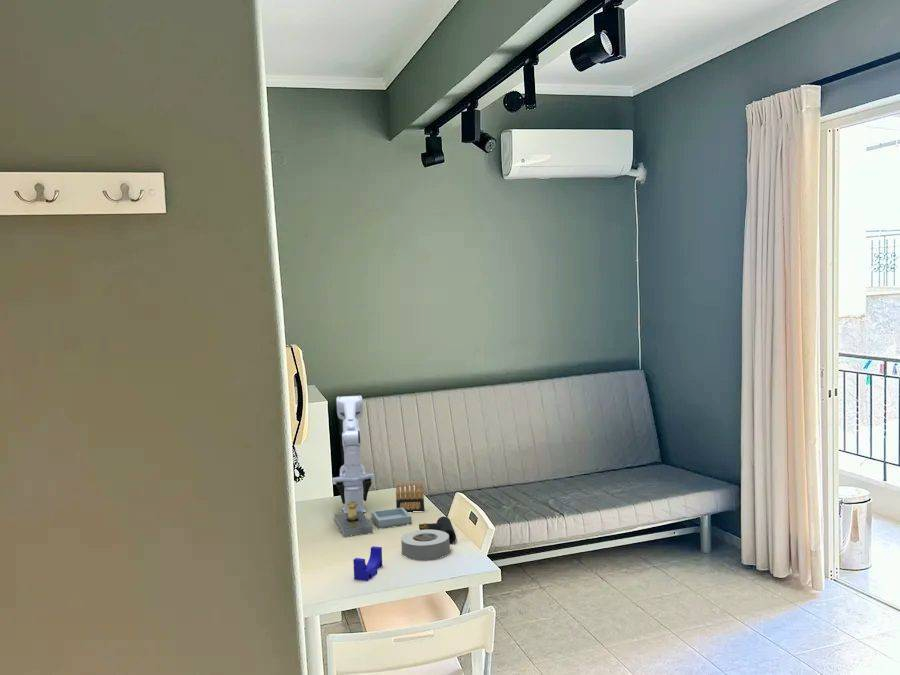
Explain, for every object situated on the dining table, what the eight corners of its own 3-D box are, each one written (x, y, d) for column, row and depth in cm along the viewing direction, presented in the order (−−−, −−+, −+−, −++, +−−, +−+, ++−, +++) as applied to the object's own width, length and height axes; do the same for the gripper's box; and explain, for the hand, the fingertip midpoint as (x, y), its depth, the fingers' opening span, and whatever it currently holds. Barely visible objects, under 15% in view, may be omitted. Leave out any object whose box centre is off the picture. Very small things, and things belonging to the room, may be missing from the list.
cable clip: (367, 581, 221) (366, 561, 220) (354, 579, 222) (353, 559, 222) (386, 567, 232) (386, 547, 231) (373, 565, 233) (373, 546, 233)
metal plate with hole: (334, 520, 280) (334, 514, 279) (361, 517, 283) (361, 510, 282) (343, 537, 261) (343, 529, 260) (372, 533, 264) (372, 526, 263)
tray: (371, 519, 280) (371, 511, 279) (403, 515, 283) (402, 507, 283) (378, 528, 268) (378, 520, 268) (411, 524, 272) (411, 516, 272)
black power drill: (421, 530, 249) (417, 517, 263) (421, 546, 249) (418, 532, 264) (455, 529, 250) (450, 515, 265) (456, 544, 250) (450, 530, 265)
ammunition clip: (424, 510, 289) (423, 479, 288) (424, 512, 287) (423, 480, 286) (396, 511, 288) (395, 480, 288) (396, 513, 287) (394, 481, 286)
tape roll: (410, 564, 234) (410, 547, 233) (395, 548, 248) (395, 533, 247) (457, 556, 239) (456, 540, 239) (439, 541, 253) (439, 526, 253)
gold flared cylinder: (345, 525, 273) (344, 502, 272) (357, 524, 274) (356, 500, 274) (348, 529, 269) (347, 505, 268) (360, 527, 270) (359, 504, 270)
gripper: (334, 468, 263) (335, 507, 264) (375, 464, 268) (376, 502, 268) (330, 464, 270) (332, 501, 271) (370, 460, 274) (372, 497, 275)
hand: (354, 501), depth 270 cm, fingers open, 7 cm apart
